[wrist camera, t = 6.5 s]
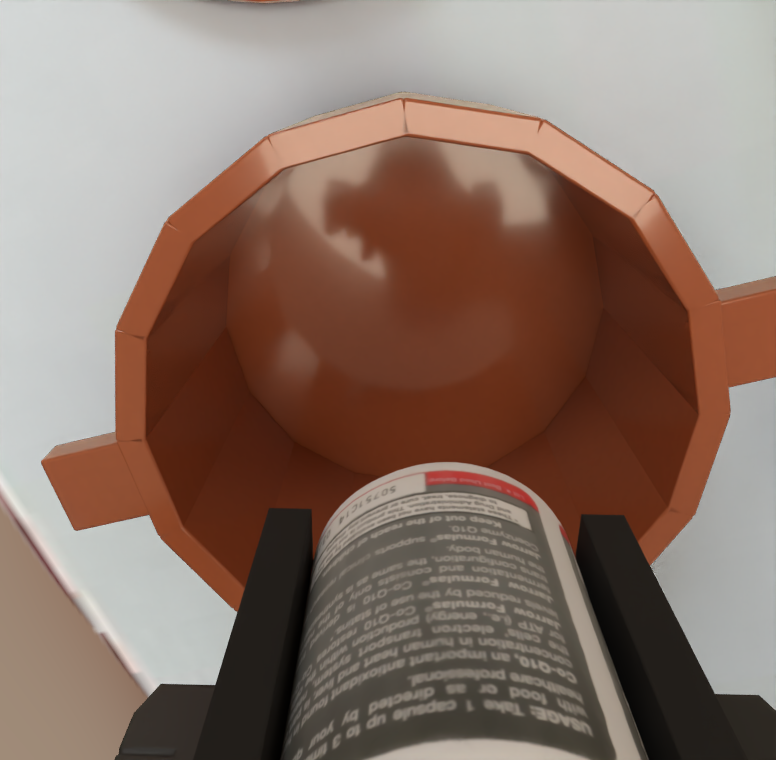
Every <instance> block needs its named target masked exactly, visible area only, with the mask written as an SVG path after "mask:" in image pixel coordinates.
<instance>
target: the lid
mask: <svg viewBox="0 0 776 760" xmlns="http://www.w3.org/2000/svg"><path fill="white" fill-rule="evenodd" d="M229 1H240V2H252V3H276V2H291V1H300V0H229Z"/></svg>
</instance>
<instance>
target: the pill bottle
mask: <svg viewBox="0 0 776 760" xmlns="http://www.w3.org/2000/svg"><path fill="white" fill-rule="evenodd" d="M280 760H649V758H648V756H647V753H646V750H645V748H644V745H643V742H642V739H641V737H640V734H639V731H638V729H637V726H636V723H635V721H634V718H633V716H632V713H631V710H630V707H629V704H628V702H627V699H626V697H625V694H624V691H623V689H622V686H621V683H620V680H619V678H618V675H617V672H616V669H615V666H614V664H613V661H612V658H611V655H610V653H609V650H608V647H607V645H606V642H605V639H604V636H603V634H602V631H601V628H600V626H599V623H598V620H597V617H596V615H595V612H594V609H593V606H592V604H591V601H590V598H589V595H588V592H587V589H586V586H585V583H584V580H583V577H582V574H581V571H580V569H579V566H578V564H577V561H576V557H575V553H574V551H573V548H572V545H571V543H570V541H569V539H568V536H567V534H566V532H565V530H564V528H563V527H562V525H561V523H560V521H559V520H558V519H557V517H556V516H555V514H554V513H553V511H552V510H551V509H550V508H549V507H548V506H547V504H546V503H545V502H544V501H543V500H542V499H541V498H540V497H539V496H538V495H536V494H535V493H534V492H533V491H532V490H530V489H529V488H528V487H526V486H525V485H523V484H522V483H520V482H518V481H516V480H515V479H513V478H511V477H509V476H507V475H505V474H502V473H500V472H497V471H494V470H492V469H489V468H485V467H481V466H477V465H473V464H466V463H458V462H435V463H426V464H420V465H415V466H411V467H408V468H404V469H401V470H397V471H395V472H392V473H390V474H388V475H385V476H383V477H381V478H379V479H377V480H375V481H372V482H371V483H369V484H367V485H366V486H364V487H363V488H361V489H360V490H358V491H356V492H355V493H354V494H353V495H352V496H350V497H349V498H348V499H347V500H346V501H345V502H344V503H343V504H342V505H341V506H340V507H339V508H338V509H337V510H336V512H335V513H334V514H333V516H332V517H331V518H330V520H329V521H328V523H327V525H326V527H325V528H324V530H323V532H322V535H321V537H320V539H319V542H318V545H317V548H316V551H315V556H314V560H313V565H312V569H311V575H310V582H309V588H308V594H307V601H306V607H305V612H304V619H303V626H302V632H301V638H300V643H299V649H298V655H297V662H296V668H295V674H294V680H293V686H292V692H291V698H290V703H289V709H288V715H287V720H286V726H285V732H284V738H283V745H282V751H281V756H280Z"/></svg>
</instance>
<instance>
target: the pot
mask: <svg viewBox="0 0 776 760" xmlns="http://www.w3.org/2000/svg"><path fill="white" fill-rule="evenodd" d="M774 377H776V276H774V277H769V278H765V279H761V280H757V281H752V282H748V283H744V284H740V285H735V286H731V287H727V288H723V289H718V290H715V289H714V287H713V286H712V284H711V282H710V281H709V279H708V277H707V276H706V274H705V273H704V271H703V269H702V268H701V266H700V264H699V263H698V261H697V259H696V258H695V256H694V254H693V253H692V251H691V249H690V248H689V246H688V244H687V243H686V241H685V239H684V238H683V236H682V234H681V233H680V231H679V229H678V228H677V226H676V224H675V223H674V221H673V219H672V218H671V216H670V214H669V213H668V211H667V210H666V208H665V206H664V205H663V203H662V201H661V200H660V198H659V196H658V195H657V194H655V192H654V190H652V189H651V188H649V187H648V186H646V185H645V184H643V183H642V182H640V181H639V180H637V179H636V178H634V177H632V176H631V175H629V174H628V173H626V172H625V171H623V170H622V169H620V168H619V167H617V166H616V165H614V164H613V163H611V162H610V161H608V160H607V159H605V158H603V157H602V156H600V155H599V154H597V153H596V152H594V151H593V150H591V149H590V148H588V147H587V146H585V145H584V144H582V143H581V142H579V141H577V140H576V139H574V138H573V137H571V136H570V135H568V134H567V133H565V132H564V131H562V130H561V129H559V128H558V127H556V126H555V125H553V124H551V123H550V122H548V121H547V120H544V119H541V118H539V117H535V116H532V115H528V114H524V113H520V112H517V111H513V110H509V109H505V108H501V107H498V106H494V105H490V104H483V103H476V102H470V101H463V100H456V99H450V98H443V97H437V96H430V95H423V94H417V93H410V92H403V93H402V92H398V93H395V94H391V95H388V96H384V97H380V98H377V99H373V100H370V101H366V102H362V103H358V104H355V105H352V106H348V107H344V108H341V109H337V110H334V111H330V112H327V113H323V114H319V115H316V116H313V117H311V118H308V119H306V120H303V121H301V122H298V123H296V124H293V125H291V126H288V127H286V128H283V129H281V130H278V131H276V132H273V133H271V134H269V135H268V136H266V137H264V138H263V139H261V140H260V141H259V142H258V143H257V144H255V145H254V146H253V147H252V148H251V149H249V150H248V151H247V152H246V153H245V154H243V155H242V156H241V157H240V158H239V159H238V160H236V161H235V162H234V163H233V164H232V165H230V166H229V167H228V168H227V169H226V170H224V171H223V172H222V173H221V174H220V175H218V176H217V177H216V178H215V179H214V180H212V181H211V182H210V183H209V184H208V185H206V186H205V187H204V188H203V189H202V190H200V191H199V192H198V193H197V194H196V195H194V196H193V197H192V198H191V199H190V200H189V201H187V202H186V203H185V204H184V205H183V206H181V207H180V208H179V209H178V210H177V211H175V212H174V213H173V214H172V215H171V216H169V217H168V219H167V221H166V222H165V223H164V225H163V227H162V229H161V231H160V233H159V236H158V238H157V240H156V242H155V244H154V246H153V248H152V251H151V253H150V255H149V257H148V259H147V261H146V263H145V266H144V268H143V270H142V272H141V274H140V276H139V279H138V281H137V283H136V285H135V287H134V289H133V291H132V294H131V296H130V298H129V300H128V302H127V304H126V307H125V309H124V311H123V313H122V315H121V317H120V319H119V322H118V324H117V328H116V330H115V423H116V432H112V433H108V434H104V435H100V436H95V437H91V438H87V439H83V440H78V441H74V442H70V443H66V444H61V445H57V446H55V447H54V448H53V449H52V450H51V451H50V452H49V453H48V454H47V455H46V456H45V457H44V459H43V460H42V461H41V464H42V466H43V468H44V470H45V472H46V474H47V476H48V478H49V480H50V482H51V484H52V486H53V488H54V490H55V492H56V494H57V496H58V498H59V500H60V502H61V504H62V506H63V508H64V510H65V512H66V514H67V516H68V518H69V520H70V522H71V524H72V526H73V528H74V530H76V531H78V530H82V529H87V528H91V527H96V526H101V525H105V524H110V523H114V522H119V521H123V520H128V519H132V518H137V517H141V516H146V515H149V516H150V518H151V520H152V522H153V524H154V527H155V529H156V531H157V533H158V535H159V536H160V537H161V539H162V540H163V541H164V542H165V543H166V544H167V545H168V546H169V547H170V548H171V549H172V550H173V551H174V552H175V553H176V554H177V555H178V556H179V557H180V558H181V559H182V560H183V561H184V562H185V563H186V564H187V565H188V566H189V567H190V568H191V569H193V570H194V571H195V572H196V573H197V574H198V575H199V576H200V577H201V578H202V579H203V580H204V581H205V582H206V583H207V584H208V585H209V586H210V587H211V588H212V589H213V590H214V591H215V592H216V593H217V594H218V595H219V596H220V597H221V598H222V599H223V600H224V601H225V602H226V603H227V604H228V605H229V606H230V607H232V608H234V610H235V611H237V612H238V609H239V606H240V602H241V599H242V596H243V592H244V589H245V586H246V583H247V579H248V576H249V573H250V569H251V566H252V563H253V559H254V556H255V553H256V549H257V546H258V543H259V540H260V536H261V533H262V530H263V526H264V523H265V520H266V516H267V513H268V510H269V508H297V509H312V536H313V560H314V556H315V551H316V548H317V545H318V542H319V539H320V537H321V535H322V532H323V530H324V528H325V527H326V525H327V523H328V521H329V520H330V518H331V517H332V516H333V514H334V513H335V512H336V510H337V509H338V508H339V507H340V506H341V505H342V504H343V503H344V502H345V501H346V500H347V499H348V498H349V497H350V496H352V495H353V494H354V493H355V492H356V491H358V490H360V489H361V488H363V487H364V486H366V485H367V484H369V483H371V482H372V481H375V480H377V479H379V478H381V477H383V476H385V475H388V474H390V473H392V472H395V471H397V470H401V469H404V468H408V467H411V466H415V465H420V464H426V463H435V462H458V463H466V464H473V465H477V466H481V467H485V468H489V469H492V470H494V471H497V472H500V473H502V474H505V475H507V476H509V477H511V478H513V479H515V480H516V481H518V482H520V483H522V484H523V485H525V486H526V487H528V488H529V489H530V490H532V491H533V492H534V493H535V494H536V495H538V496H539V497H540V498H541V499H542V500H543V501H544V502H545V503H546V504H547V506H548V507H549V508H550V509H551V510H552V511H553V513H554V514H555V516H556V517H557V519H558V520H559V521H560V523H561V525H562V527H563V528H564V530H565V532H566V534H567V536H568V539H569V541H570V543H571V545H572V548H573V551H574V553H575V556H576V548H577V541H578V534H579V527H580V519H581V514H596V515H624V516H625V518H626V520H627V522H628V524H629V526H630V528H631V530H632V532H633V534H634V536H635V538H636V540H637V541H638V543H639V545H640V547H641V549H642V551H643V553H644V555H645V557H646V559H647V561H648V563H649V565H651V564H652V563H653V562H654V561H655V560H656V558H657V557H658V556H659V555H660V554H661V553H662V552H663V551H664V549H665V548H666V547H667V546H668V545H669V544H670V543H671V542H672V540H673V539H674V538H675V537H676V536H677V535H678V534H679V533H680V531H681V530H682V529H683V528H684V527H685V526H686V525H687V524H688V522H689V521H690V520H691V519H692V517H693V516H694V515H695V513H696V510H697V508H698V505H699V502H700V499H701V496H702V493H703V491H704V488H705V485H706V482H707V479H708V477H709V474H710V471H711V468H712V465H713V462H714V460H715V457H716V454H717V451H718V448H719V445H720V443H721V440H722V437H723V434H724V431H725V429H726V426H727V423H728V420H729V417H730V412H731V410H730V399H729V388H728V387H733V386H737V385H742V384H747V383H751V382H756V381H760V380H765V379H769V378H774Z"/></svg>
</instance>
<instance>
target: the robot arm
mask: <svg viewBox="0 0 776 760" xmlns="http://www.w3.org/2000/svg"><path fill="white" fill-rule="evenodd" d="M575 557H576V561H577V564H578V566H579V569H580V571H581V574H582V577H583V580H584V583H585V586H586V589H587V592H588V595H589V598H590V601H591V604H592V606H593V609H594V612H595V615H596V617H597V620H598V623H599V626H600V628H601V631H602V634H603V636H604V639H605V642H606V645H607V647H608V650H609V653H610V655H611V658H612V661H613V664H614V666H615V669H616V672H617V675H618V678H619V680H620V683H621V686H622V689H623V691H624V694H625V697H626V699H627V702H628V704H629V707H630V710H631V713H632V716H633V718H634V721H635V723H636V726H637V729H638V731H639V734H640V737H641V739H642V742H643V745H644V748H645V750H646V753H647V756H648V758H649V760H776V711H775V710H774V709H773V708H772V707H771V706H770V705H769V704H768V703H767V702H766V701H765V700H764V699H763V698H761V697H760V696H759V695H727V694H715V693H714V691H713V689H712V688H711V686H710V684H709V682H708V680H707V678H706V676H705V674H704V672H703V670H702V668H701V666H700V664H699V662H698V660H697V658H696V656H695V654H694V652H693V650H692V648H691V646H690V644H689V642H688V640H687V638H686V636H685V634H684V632H683V630H682V628H681V626H680V624H679V622H678V620H677V618H676V616H675V615H674V613H673V611H672V609H671V607H670V605H669V603H668V601H667V599H666V597H665V595H664V593H663V591H662V589H661V587H660V585H659V583H658V581H657V579H656V577H655V575H654V573H653V571H652V569H651V567H650V565H649V563H648V561H647V559H646V557H645V555H644V553H643V551H642V549H641V547H640V545H639V543H638V541H637V540H636V538H635V536H634V534H633V532H632V530H631V528H630V526H629V524H628V522H627V520H626V518H625V516H624V515H596V514H581V519H580V527H579V534H578V541H577V548H576V556H575ZM312 565H313V536H312V509H297V508H269V510H268V513H267V516H266V520H265V523H264V526H263V530H262V533H261V536H260V540H259V543H258V546H257V549H256V553H255V556H254V559H253V563H252V566H251V569H250V573H249V576H248V579H247V583H246V586H245V589H244V592H243V596H242V599H241V602H240V606H239V609H238V612H237V616H236V619H235V622H234V626H233V629H232V632H231V635H230V639H229V642H228V645H227V649H226V652H225V655H224V659H223V662H222V665H221V669H220V672H219V675H218V678H217V682H216V685H181V684H160V685H159V687H158V688H157V689H156V690H155V691H154V692H153V693H152V694H151V695H150V696H149V697H148V698H147V700H146V701H145V702H144V703H143V704H142V705H141V706H140V707H139V708H138V709H137V710H136V712H135V713H134V715H133V717H132V719H131V721H130V724H129V726H128V729H127V731H126V734H125V736H124V738H123V741H122V743H121V745H120V748H119V754H118V755H117V756H116V757H115V760H280V756H281V751H282V745H283V738H284V732H285V726H286V720H287V715H288V709H289V703H290V698H291V692H292V686H293V680H294V674H295V668H296V662H297V655H298V649H299V643H300V638H301V632H302V626H303V619H304V612H305V607H306V601H307V594H308V588H309V582H310V575H311V569H312Z"/></svg>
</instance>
